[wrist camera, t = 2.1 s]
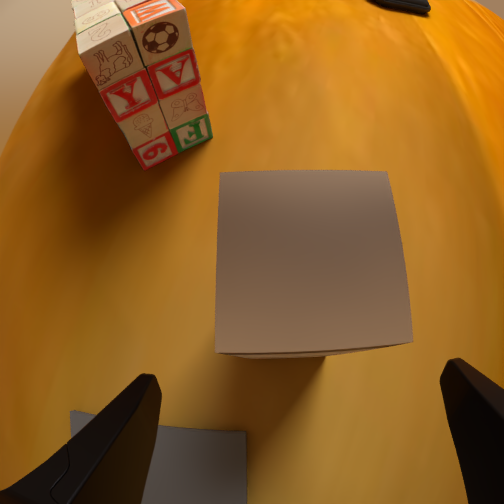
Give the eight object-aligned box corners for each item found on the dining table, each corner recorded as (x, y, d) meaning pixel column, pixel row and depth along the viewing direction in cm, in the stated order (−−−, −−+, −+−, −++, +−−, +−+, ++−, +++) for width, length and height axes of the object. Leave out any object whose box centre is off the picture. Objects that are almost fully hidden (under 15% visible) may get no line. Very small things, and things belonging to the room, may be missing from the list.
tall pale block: (326, 356, 18) (412, 342, 7) (249, 358, 19) (214, 352, 7) (322, 282, 20) (386, 171, 8) (249, 284, 20) (220, 172, 8)
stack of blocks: (102, 57, 31) (67, -19, 19) (148, 35, 31) (123, -44, 20) (144, 173, 24) (75, 53, 12) (216, 138, 24) (185, 4, 13)
